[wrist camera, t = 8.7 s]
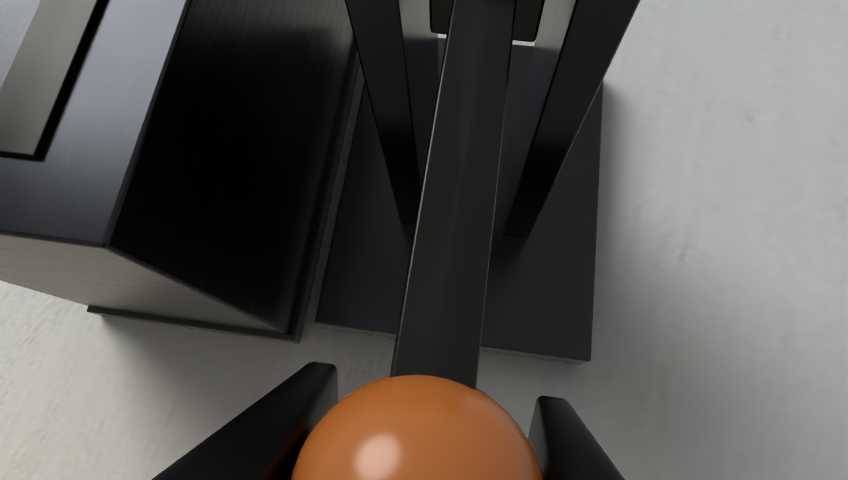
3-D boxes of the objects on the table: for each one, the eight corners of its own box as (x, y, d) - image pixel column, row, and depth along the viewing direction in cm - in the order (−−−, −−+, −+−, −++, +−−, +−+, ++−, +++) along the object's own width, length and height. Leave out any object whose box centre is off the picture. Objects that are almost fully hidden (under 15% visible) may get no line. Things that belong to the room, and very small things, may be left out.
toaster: (299, 344, 20) (105, 257, 9) (98, 315, 21) (-324, 200, 10) (364, 39, 25) (291, -286, 13) (196, 24, 25) (-14, -297, 14)
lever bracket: (580, 364, 20) (880, 265, 6) (323, 329, 20) (79, 170, 7) (595, 73, 24) (797, -384, 10) (378, 53, 24) (292, -394, 11)
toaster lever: (518, 641, 7) (572, 774, 4) (295, 600, 7) (198, 697, 4) (562, -36, 12) (601, -196, 9) (425, -47, 12) (420, -205, 9)
